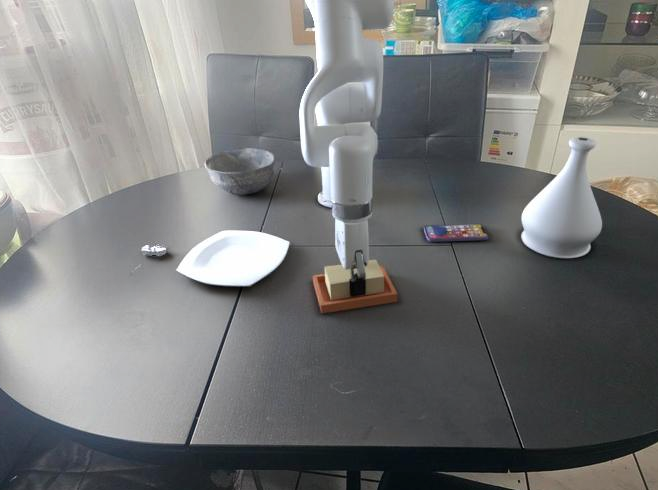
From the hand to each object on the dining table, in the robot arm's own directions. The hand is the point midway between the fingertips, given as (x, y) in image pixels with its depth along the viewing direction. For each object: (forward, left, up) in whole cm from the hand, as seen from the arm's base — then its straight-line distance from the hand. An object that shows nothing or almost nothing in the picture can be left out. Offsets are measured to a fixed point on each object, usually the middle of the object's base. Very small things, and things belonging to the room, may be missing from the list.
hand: (353, 283), depth 92 cm
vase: (-8, +52, -2) cm, 53 cm away
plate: (-18, -24, -2) cm, 30 cm away
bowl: (-59, -21, -2) cm, 63 cm away
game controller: (-24, -45, -2) cm, 51 cm away
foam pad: (0, 0, -1) cm, 1 cm away
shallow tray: (0, 0, -2) cm, 2 cm away
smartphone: (-17, +30, -2) cm, 35 cm away
